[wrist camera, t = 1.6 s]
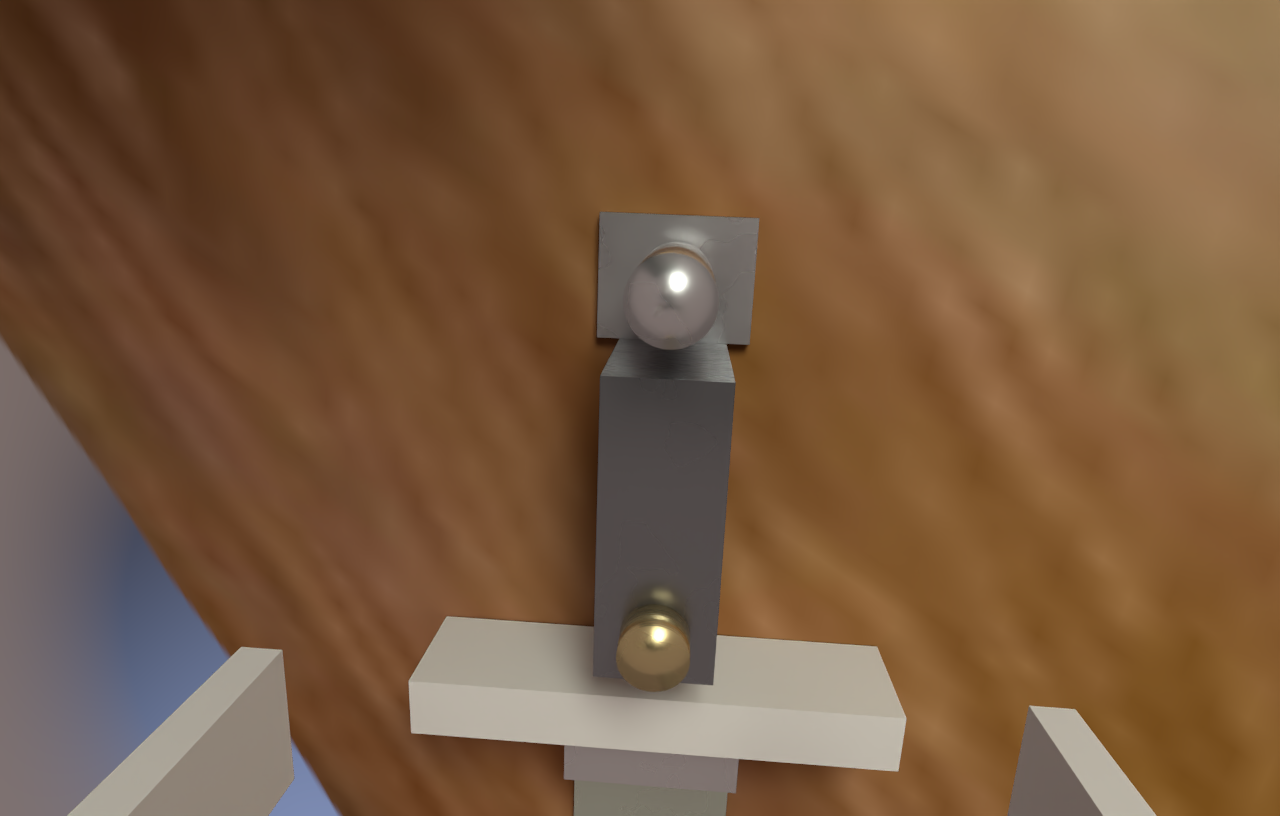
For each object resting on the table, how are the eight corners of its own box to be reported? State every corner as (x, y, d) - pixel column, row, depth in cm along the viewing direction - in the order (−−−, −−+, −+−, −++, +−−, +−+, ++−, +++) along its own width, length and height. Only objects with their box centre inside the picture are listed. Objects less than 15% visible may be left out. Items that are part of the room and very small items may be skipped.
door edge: (446, 616, 29) (408, 681, 25) (877, 646, 28) (906, 718, 24) (448, 662, 29) (411, 732, 25) (870, 693, 28) (898, 771, 24)
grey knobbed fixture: (601, 211, 24) (572, 215, 19) (758, 217, 24) (778, 224, 18) (598, 335, 25) (570, 375, 20) (748, 342, 25) (765, 385, 19)
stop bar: (620, 335, 26) (594, 386, 19) (725, 341, 25) (737, 394, 18) (613, 577, 28) (587, 703, 21) (709, 584, 28) (714, 712, 21)
